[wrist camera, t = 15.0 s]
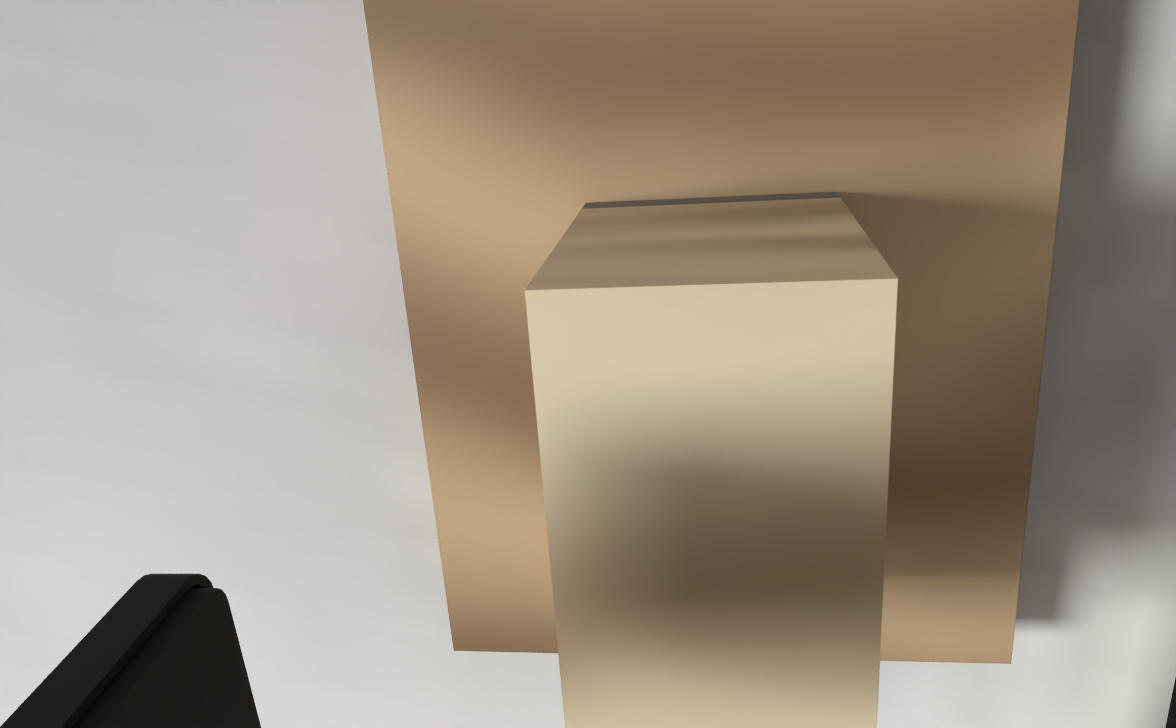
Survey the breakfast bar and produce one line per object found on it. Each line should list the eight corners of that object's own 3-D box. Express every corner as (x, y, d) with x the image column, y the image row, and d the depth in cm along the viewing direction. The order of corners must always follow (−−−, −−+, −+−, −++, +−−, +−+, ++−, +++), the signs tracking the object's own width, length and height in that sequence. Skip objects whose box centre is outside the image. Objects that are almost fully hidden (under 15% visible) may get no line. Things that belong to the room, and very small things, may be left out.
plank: (275, -884, 14) (226, -986, 12) (1148, -1079, 12) (1206, -1223, 11) (470, 611, 23) (453, 650, 21) (991, 620, 21) (1010, 663, 19)
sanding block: (585, 202, 17) (524, 289, 12) (836, 191, 17) (897, 278, 11) (611, 575, 20) (571, 791, 14) (826, 578, 19) (872, 805, 14)
